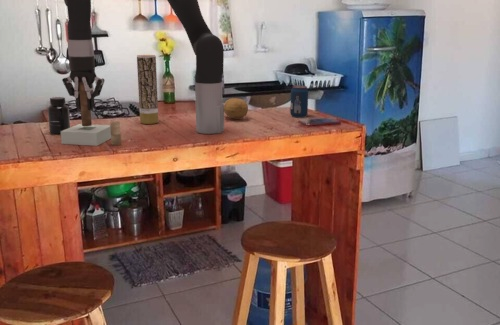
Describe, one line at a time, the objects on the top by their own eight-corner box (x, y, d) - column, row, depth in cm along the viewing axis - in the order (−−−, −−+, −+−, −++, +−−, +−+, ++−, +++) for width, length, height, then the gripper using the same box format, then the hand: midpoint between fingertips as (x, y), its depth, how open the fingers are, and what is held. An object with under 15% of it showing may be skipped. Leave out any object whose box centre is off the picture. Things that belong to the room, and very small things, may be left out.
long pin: (93, 124, 170) (90, 81, 166) (89, 126, 167) (85, 82, 163) (84, 124, 171) (81, 80, 167) (80, 126, 168) (76, 82, 164)
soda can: (303, 114, 216) (304, 85, 213) (309, 117, 210) (311, 87, 207) (287, 115, 215) (288, 85, 211) (293, 118, 208) (294, 88, 205)
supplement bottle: (51, 135, 177) (47, 100, 174) (48, 131, 183) (45, 97, 180) (72, 133, 180) (69, 98, 177) (69, 129, 186) (66, 95, 183)
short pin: (122, 143, 167) (121, 121, 165) (118, 145, 164) (117, 123, 162) (113, 142, 167) (112, 121, 165) (109, 145, 164) (108, 123, 163)
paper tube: (154, 125, 194) (151, 56, 187) (137, 124, 195) (133, 55, 189) (161, 121, 201) (158, 54, 194) (144, 120, 202) (141, 54, 195)
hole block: (113, 137, 175) (112, 125, 174) (97, 145, 164) (96, 133, 162) (80, 135, 177) (79, 123, 176) (61, 143, 166) (60, 131, 165)
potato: (242, 114, 215) (242, 95, 213) (252, 121, 202) (253, 100, 200) (219, 116, 212) (218, 96, 210) (228, 122, 199) (228, 101, 197)
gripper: (107, 54, 165) (111, 108, 170) (66, 53, 168) (71, 106, 172) (96, 56, 158) (100, 112, 163) (54, 55, 161) (59, 110, 165)
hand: (85, 109), depth 168 cm, fingers closed on long pin, 3 cm apart
